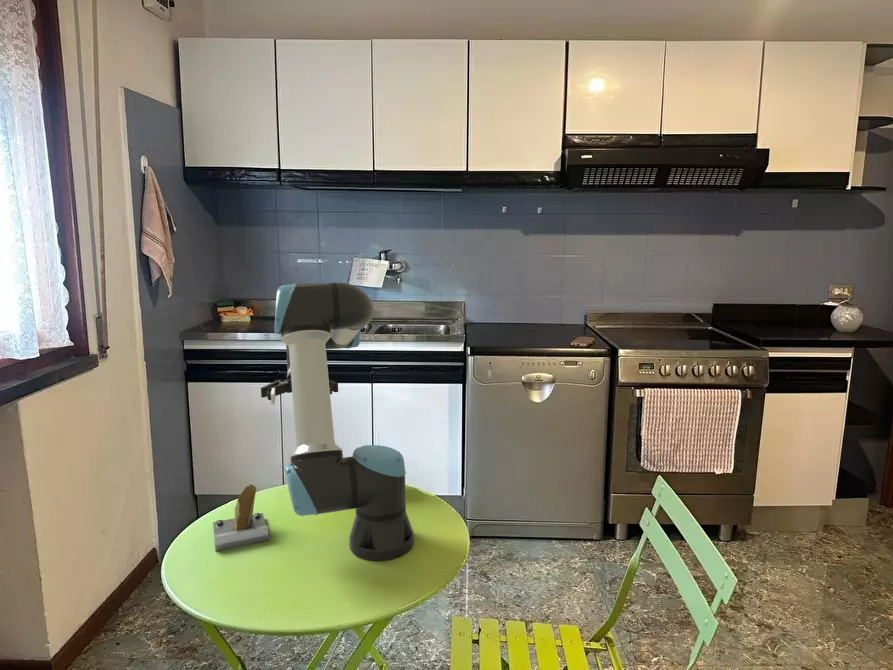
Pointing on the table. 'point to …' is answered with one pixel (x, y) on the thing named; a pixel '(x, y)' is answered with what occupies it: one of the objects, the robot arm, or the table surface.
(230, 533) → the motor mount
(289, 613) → the table surface
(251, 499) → the rock
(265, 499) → the table surface
